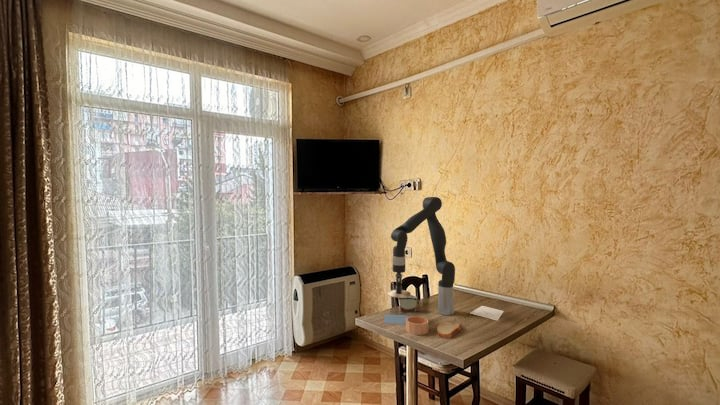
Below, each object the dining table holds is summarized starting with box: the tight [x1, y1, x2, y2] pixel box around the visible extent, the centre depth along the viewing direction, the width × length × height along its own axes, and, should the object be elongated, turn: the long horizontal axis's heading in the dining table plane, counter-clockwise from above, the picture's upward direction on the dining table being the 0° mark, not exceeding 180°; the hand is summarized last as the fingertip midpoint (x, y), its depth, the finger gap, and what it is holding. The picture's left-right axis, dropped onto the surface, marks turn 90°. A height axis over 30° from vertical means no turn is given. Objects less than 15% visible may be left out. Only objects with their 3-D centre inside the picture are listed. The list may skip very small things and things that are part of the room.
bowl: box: [405, 315, 429, 337], centre depth 179 cm, size 12×12×6 cm
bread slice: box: [436, 320, 463, 340], centre depth 180 cm, size 18×18×4 cm
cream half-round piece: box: [397, 294, 419, 313], centre depth 212 cm, size 12×6×10 cm, turn 84°
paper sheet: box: [469, 305, 504, 321], centre depth 206 cm, size 24×29×1 cm
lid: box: [386, 284, 412, 299], centre depth 194 cm, size 14×14×5 cm
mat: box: [383, 313, 410, 325], centre depth 196 cm, size 15×15×1 cm
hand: (398, 292), depth 194 cm, fingers closed on lid, 3 cm apart
